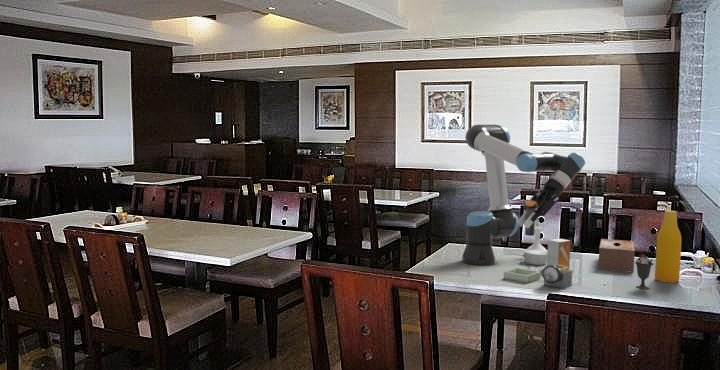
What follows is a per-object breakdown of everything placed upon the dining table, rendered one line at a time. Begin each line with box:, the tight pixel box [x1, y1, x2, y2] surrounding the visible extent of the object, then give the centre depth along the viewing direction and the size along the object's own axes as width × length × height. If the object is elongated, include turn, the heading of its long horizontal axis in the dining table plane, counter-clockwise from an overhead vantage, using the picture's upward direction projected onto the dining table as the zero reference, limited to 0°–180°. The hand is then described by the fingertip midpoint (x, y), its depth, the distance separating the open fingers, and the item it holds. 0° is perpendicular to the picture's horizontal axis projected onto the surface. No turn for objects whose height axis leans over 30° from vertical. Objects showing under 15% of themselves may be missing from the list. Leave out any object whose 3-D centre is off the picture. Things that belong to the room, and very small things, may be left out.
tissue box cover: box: [597, 238, 635, 273], centre depth 288 cm, size 26×14×10 cm, turn 157°
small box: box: [546, 238, 572, 268], centre depth 278 cm, size 8×6×13 cm
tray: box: [503, 267, 542, 284], centre depth 259 cm, size 11×11×3 cm
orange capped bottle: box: [524, 199, 537, 237], centre depth 255 cm, size 5×5×14 cm
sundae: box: [634, 249, 655, 291], centre depth 245 cm, size 7×7×15 cm
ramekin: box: [523, 249, 548, 266], centre depth 291 cm, size 11×11×5 cm
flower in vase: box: [525, 207, 548, 251], centre depth 305 cm, size 13×11×25 cm
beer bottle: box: [654, 210, 683, 283], centre depth 258 cm, size 9×9×29 cm
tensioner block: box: [541, 265, 573, 290], centre depth 247 cm, size 8×11×9 cm
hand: (522, 225), depth 253 cm, fingers closed on orange capped bottle, 3 cm apart
